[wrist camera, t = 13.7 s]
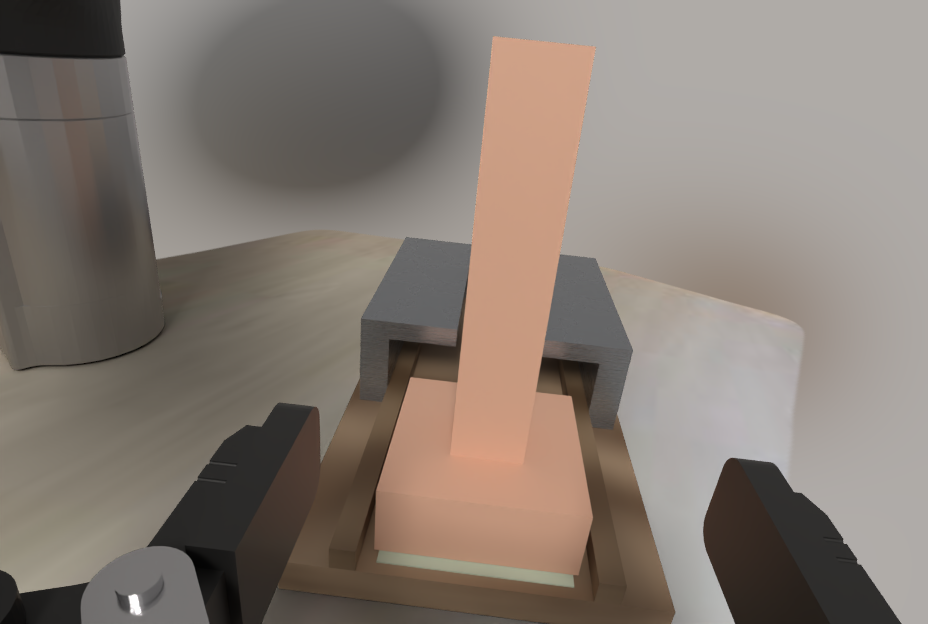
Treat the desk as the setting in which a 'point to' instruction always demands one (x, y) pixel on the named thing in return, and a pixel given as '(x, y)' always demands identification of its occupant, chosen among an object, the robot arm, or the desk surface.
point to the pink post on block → (502, 349)
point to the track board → (469, 583)
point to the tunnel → (440, 308)
